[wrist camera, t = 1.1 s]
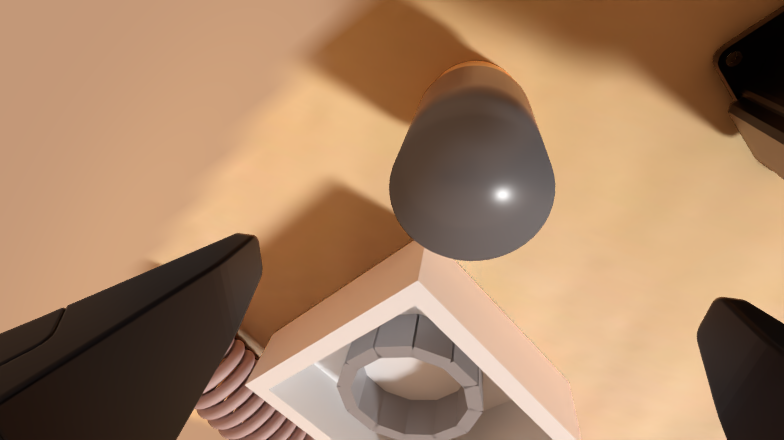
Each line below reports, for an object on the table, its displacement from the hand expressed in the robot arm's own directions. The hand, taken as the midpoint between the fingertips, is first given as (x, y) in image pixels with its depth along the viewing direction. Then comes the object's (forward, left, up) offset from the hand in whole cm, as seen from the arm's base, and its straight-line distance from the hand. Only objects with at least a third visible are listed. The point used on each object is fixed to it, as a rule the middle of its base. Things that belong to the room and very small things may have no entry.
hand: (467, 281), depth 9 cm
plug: (0, 0, -12) cm, 12 cm away
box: (+12, +10, -12) cm, 19 cm away
